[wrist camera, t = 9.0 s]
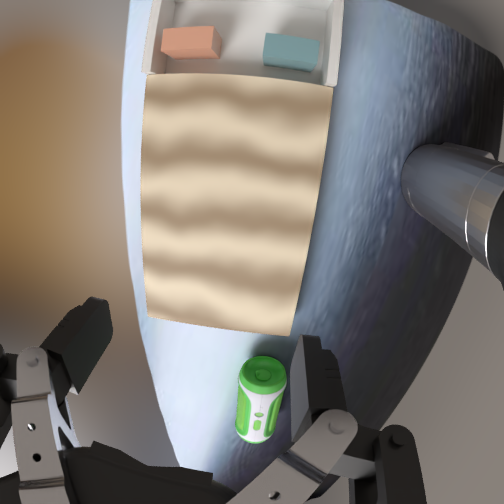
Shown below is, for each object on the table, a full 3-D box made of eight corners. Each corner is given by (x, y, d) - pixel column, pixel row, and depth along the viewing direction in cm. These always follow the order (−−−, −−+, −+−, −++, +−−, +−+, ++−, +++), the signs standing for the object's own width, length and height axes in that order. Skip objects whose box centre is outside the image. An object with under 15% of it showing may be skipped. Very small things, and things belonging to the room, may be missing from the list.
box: (170, -2, 24) (156, -17, 19) (334, 8, 24) (344, -8, 19) (158, 77, 28) (141, 72, 24) (327, 90, 28) (336, 85, 24)
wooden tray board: (158, 78, 29) (146, 74, 25) (327, 91, 28) (333, 87, 25) (156, 302, 41) (147, 316, 38) (288, 320, 41) (289, 336, 38)
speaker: (241, 350, 44) (236, 386, 37) (288, 354, 44) (289, 391, 37) (236, 412, 51) (232, 444, 45) (274, 415, 51) (273, 447, 44)
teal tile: (263, 65, 27) (266, 45, 26) (310, 72, 27) (312, 52, 26) (262, 55, 23) (265, 32, 21) (317, 64, 23) (319, 41, 21)
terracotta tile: (176, 59, 27) (178, 40, 26) (220, 58, 27) (222, 39, 26) (160, 50, 22) (163, 28, 21) (211, 48, 22) (213, 25, 21)
